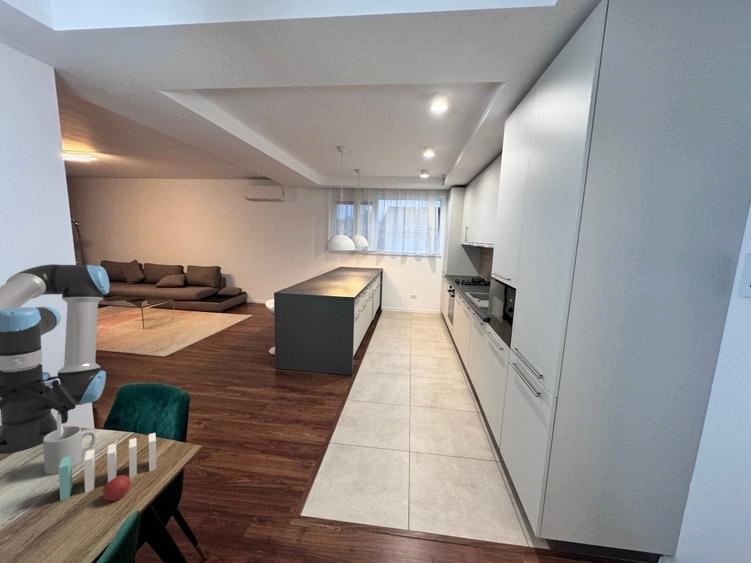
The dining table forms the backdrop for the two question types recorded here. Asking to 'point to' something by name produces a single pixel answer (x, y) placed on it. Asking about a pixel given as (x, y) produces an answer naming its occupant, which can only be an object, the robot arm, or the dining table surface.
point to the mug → (65, 447)
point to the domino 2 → (89, 470)
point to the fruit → (116, 488)
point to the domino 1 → (65, 477)
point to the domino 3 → (112, 462)
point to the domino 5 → (152, 451)
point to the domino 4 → (132, 457)
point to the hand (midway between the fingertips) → (24, 443)
